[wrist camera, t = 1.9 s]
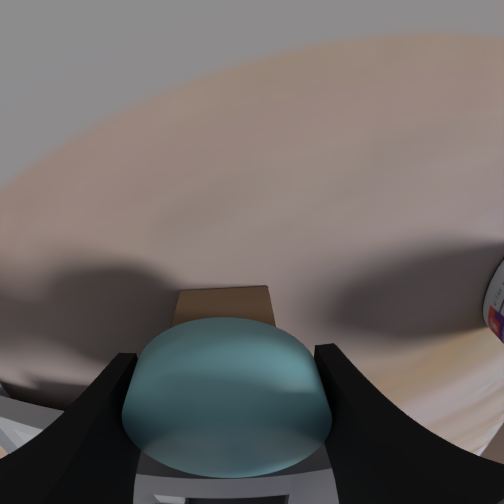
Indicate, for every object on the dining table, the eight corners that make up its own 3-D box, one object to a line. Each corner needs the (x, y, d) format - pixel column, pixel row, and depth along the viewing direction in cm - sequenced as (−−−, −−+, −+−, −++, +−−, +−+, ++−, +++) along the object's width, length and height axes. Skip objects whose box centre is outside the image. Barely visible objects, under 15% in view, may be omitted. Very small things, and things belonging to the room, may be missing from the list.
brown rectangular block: (268, 351, 13) (278, 416, 9) (192, 354, 12) (184, 419, 9) (267, 285, 11) (280, 349, 8) (180, 290, 11) (163, 354, 8)
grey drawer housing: (314, 476, 18) (324, 527, 14) (159, 481, 18) (153, 532, 14) (340, 379, 14) (368, 460, 9) (102, 387, 13) (75, 462, 9)
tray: (191, 485, 18) (189, 518, 15) (57, 463, 17) (48, 490, 14) (151, 402, 13) (141, 452, 10) (-12, 377, 13) (-31, 408, 10)
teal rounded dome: (287, 441, 10) (293, 479, 8) (137, 423, 9) (129, 463, 8) (346, 331, 8) (368, 376, 6) (135, 298, 7) (114, 344, 6)
